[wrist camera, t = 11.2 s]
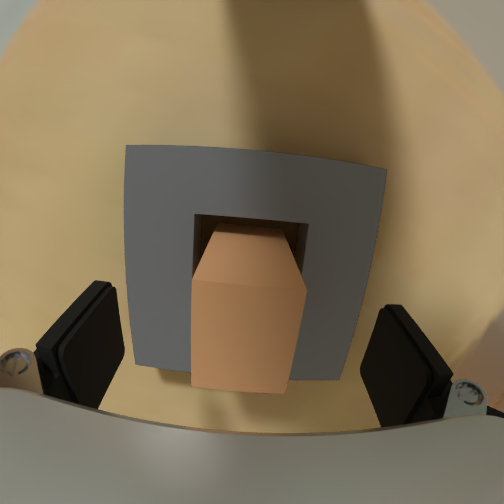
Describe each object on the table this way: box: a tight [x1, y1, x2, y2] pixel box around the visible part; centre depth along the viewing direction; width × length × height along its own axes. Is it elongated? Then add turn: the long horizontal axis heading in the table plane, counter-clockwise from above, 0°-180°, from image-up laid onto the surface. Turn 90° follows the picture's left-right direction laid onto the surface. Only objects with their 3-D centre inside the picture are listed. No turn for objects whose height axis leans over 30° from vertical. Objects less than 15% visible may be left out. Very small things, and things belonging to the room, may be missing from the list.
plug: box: [191, 223, 307, 394], centre depth 16 cm, size 5×4×9 cm
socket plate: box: [124, 145, 387, 380], centre depth 18 cm, size 14×14×3 cm
